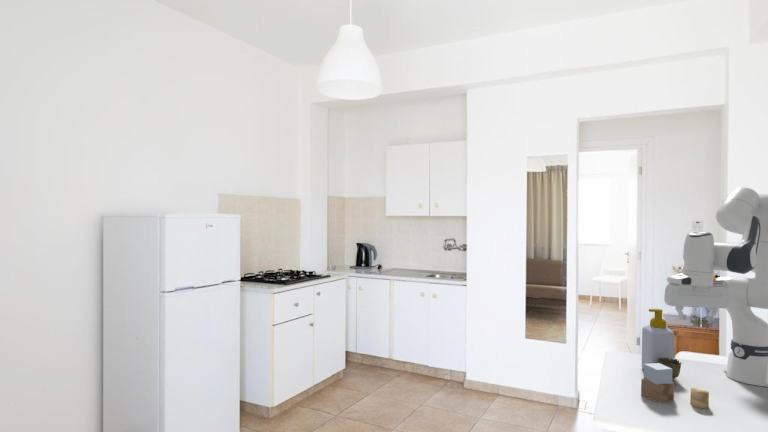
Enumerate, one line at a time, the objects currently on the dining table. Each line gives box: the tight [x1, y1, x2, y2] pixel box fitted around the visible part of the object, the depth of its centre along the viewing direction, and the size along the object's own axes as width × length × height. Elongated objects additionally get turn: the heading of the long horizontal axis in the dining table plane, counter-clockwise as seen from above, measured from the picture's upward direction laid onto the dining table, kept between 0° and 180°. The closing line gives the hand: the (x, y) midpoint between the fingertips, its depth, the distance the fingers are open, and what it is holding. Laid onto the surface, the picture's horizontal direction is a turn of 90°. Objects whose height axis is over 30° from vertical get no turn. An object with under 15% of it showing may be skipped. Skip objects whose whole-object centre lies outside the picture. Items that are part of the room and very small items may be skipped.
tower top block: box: [643, 363, 673, 385], centre depth 160 cm, size 6×6×5 cm
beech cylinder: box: [689, 387, 710, 410], centre depth 154 cm, size 5×5×5 cm
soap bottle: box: [641, 308, 675, 370], centre depth 185 cm, size 9×9×25 cm
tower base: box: [640, 377, 675, 404], centre depth 160 cm, size 7×7×6 cm
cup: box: [658, 357, 682, 383], centre depth 176 cm, size 8×7×8 cm
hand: (696, 320), depth 157 cm, fingers open, 8 cm apart
